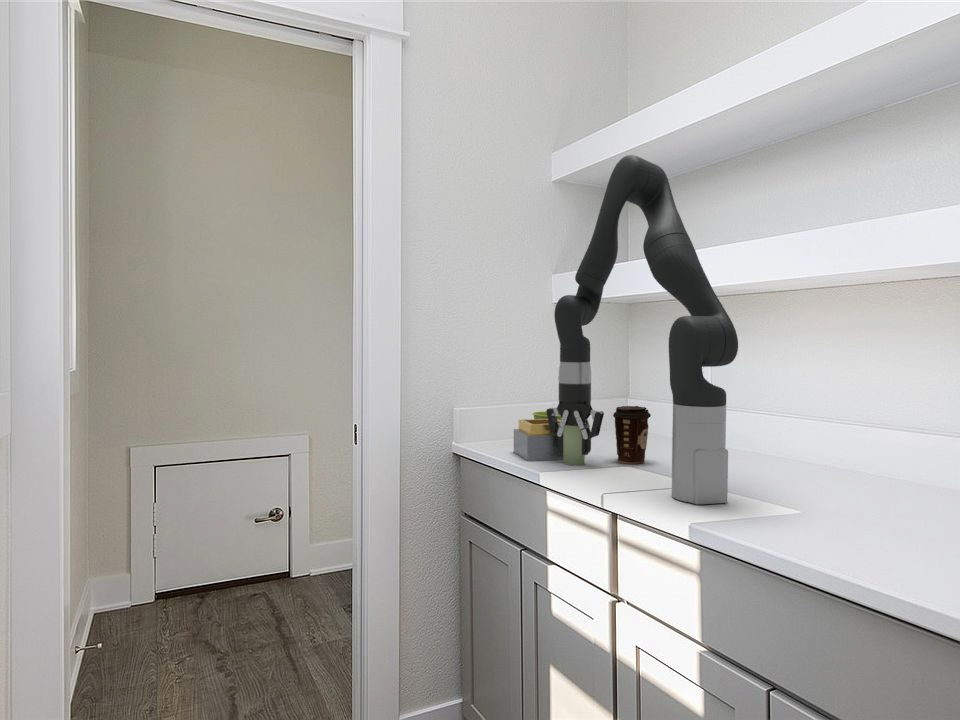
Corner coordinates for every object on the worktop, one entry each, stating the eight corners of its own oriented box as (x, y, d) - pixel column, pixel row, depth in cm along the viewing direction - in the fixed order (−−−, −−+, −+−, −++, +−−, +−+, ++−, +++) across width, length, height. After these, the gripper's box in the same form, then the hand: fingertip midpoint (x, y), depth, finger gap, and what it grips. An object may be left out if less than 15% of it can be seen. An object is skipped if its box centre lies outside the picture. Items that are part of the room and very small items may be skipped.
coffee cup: (647, 458, 155) (648, 405, 155) (653, 465, 147) (653, 409, 147) (611, 458, 156) (611, 405, 156) (614, 464, 148) (615, 408, 148)
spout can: (587, 465, 148) (588, 419, 148) (567, 465, 147) (567, 420, 146) (579, 461, 153) (580, 417, 152) (560, 461, 152) (560, 417, 151)
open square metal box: (574, 459, 155) (574, 424, 155) (527, 461, 152) (527, 425, 152) (557, 450, 167) (558, 418, 166) (513, 452, 164) (513, 419, 164)
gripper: (609, 381, 149) (609, 454, 149) (553, 379, 156) (553, 448, 157) (597, 383, 142) (597, 459, 143) (540, 380, 150) (539, 452, 151)
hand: (574, 453), depth 150 cm, fingers closed on spout can, 5 cm apart
